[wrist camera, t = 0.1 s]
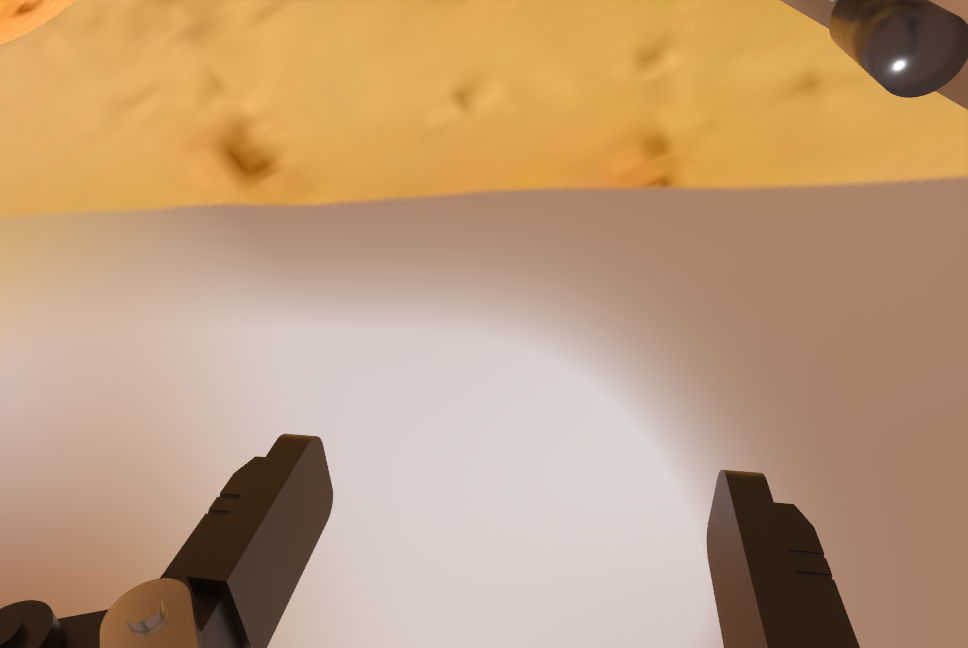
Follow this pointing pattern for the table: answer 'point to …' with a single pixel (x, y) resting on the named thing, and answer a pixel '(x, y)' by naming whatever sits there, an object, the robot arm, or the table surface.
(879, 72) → the capstan
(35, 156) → the table surface
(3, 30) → the beer glass
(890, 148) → the table surface
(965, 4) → the stand
